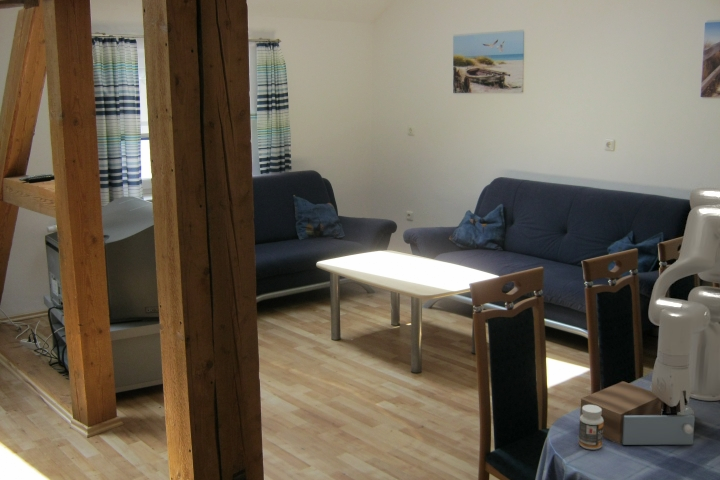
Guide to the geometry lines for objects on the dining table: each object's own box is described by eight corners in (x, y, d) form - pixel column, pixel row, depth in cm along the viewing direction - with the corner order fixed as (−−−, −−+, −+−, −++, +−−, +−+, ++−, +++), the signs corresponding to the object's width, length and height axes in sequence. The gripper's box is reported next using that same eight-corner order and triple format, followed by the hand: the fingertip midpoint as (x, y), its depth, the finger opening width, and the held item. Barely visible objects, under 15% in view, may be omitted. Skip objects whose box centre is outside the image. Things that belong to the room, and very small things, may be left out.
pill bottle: (603, 451, 182) (605, 414, 180) (579, 449, 184) (581, 412, 181) (601, 440, 188) (602, 404, 186) (577, 438, 189) (579, 402, 187)
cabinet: (621, 408, 206) (623, 381, 204) (660, 423, 196) (662, 395, 194) (579, 426, 195) (581, 398, 194) (618, 443, 186) (620, 414, 184)
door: (625, 447, 183) (627, 420, 182) (622, 442, 186) (623, 415, 184) (695, 447, 183) (697, 419, 181) (690, 442, 185) (693, 415, 183)
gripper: (643, 348, 190) (639, 414, 194) (676, 370, 175) (671, 441, 179) (670, 345, 191) (666, 411, 195) (705, 367, 176) (700, 438, 180)
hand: (668, 425), depth 187 cm, fingers closed
